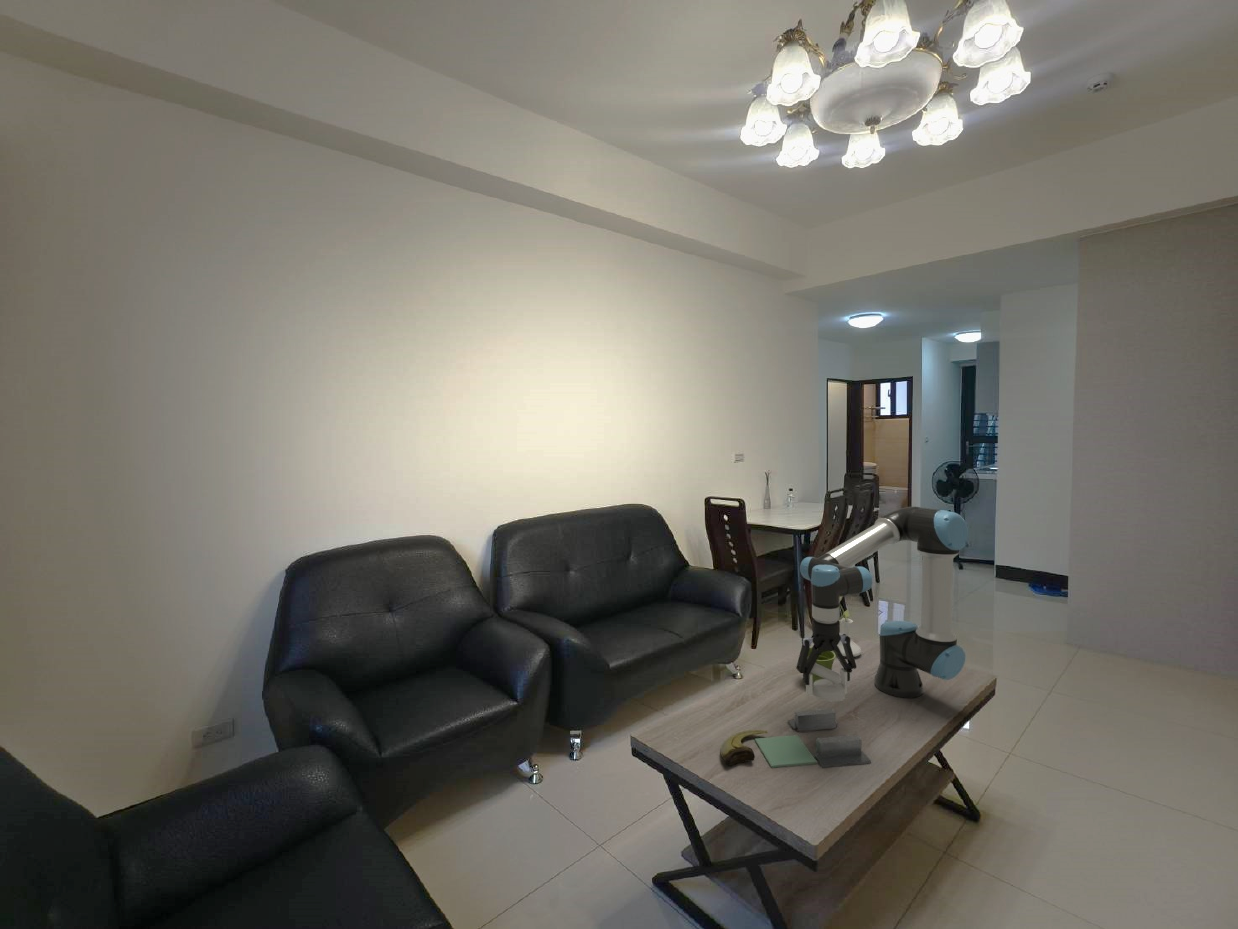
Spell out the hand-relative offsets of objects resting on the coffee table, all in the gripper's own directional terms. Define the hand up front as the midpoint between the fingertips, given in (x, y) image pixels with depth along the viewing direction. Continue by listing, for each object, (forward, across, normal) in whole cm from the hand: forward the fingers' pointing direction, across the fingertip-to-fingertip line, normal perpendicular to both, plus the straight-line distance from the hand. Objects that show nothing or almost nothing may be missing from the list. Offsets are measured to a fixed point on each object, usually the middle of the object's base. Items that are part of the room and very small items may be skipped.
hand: (826, 693), depth 158 cm
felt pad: (+14, +14, +3) cm, 21 cm away
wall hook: (0, 0, 0) cm, 0 cm away
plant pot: (+15, -14, -34) cm, 40 cm away
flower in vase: (+15, -36, -56) cm, 68 cm away
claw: (+14, +26, +1) cm, 29 cm away
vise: (+15, 0, 0) cm, 15 cm away
